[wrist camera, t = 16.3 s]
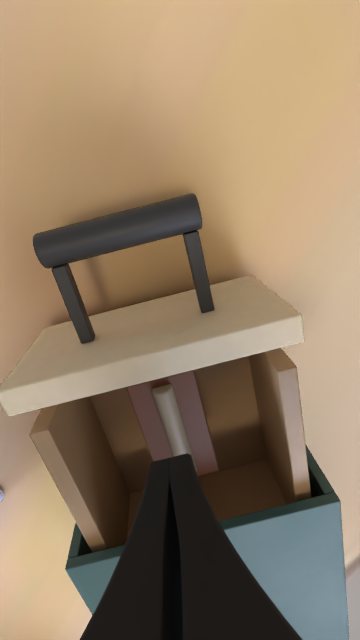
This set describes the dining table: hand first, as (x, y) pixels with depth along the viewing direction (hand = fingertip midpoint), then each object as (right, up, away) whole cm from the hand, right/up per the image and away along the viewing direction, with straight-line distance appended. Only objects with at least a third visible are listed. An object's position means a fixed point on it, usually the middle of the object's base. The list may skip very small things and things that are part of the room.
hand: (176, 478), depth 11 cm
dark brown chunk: (0, +2, +8) cm, 8 cm away
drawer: (-1, +3, +8) cm, 9 cm away
